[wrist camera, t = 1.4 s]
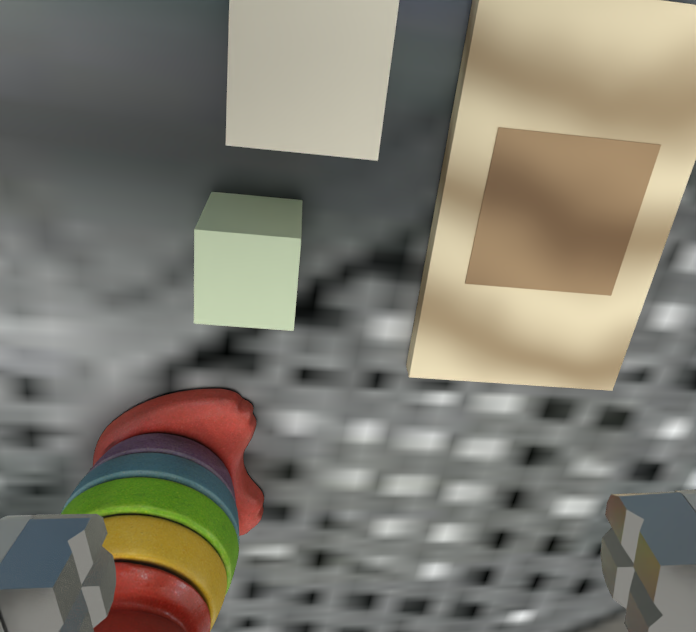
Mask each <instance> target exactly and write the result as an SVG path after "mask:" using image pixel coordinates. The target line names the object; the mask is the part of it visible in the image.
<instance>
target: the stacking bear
mask: <svg viewBox="0 0 696 632" xmlns="http://www.w3.org/2000/svg"><path fill="white" fill-rule="evenodd" d="M255 427H256V419H255V417H254V415H253V406H252V404H251V403H249V402H248V401H246V400H244V399H243V398H241V396H240V395H239V394H237V393H236V392H233V391H230V390H226V389H196V390H188V391H181V392H176V393H172V394H168V395H164V396H160V397H157V398H155V399H152V400H149V401H147V402H144V403H142V404H140V405H138V406H136V407H134V408H132V409H130V410H129V411H127V412H125V413H124V414H122V415H121V416H120V417H118V418H117V419H116V420H114V421H113V422H112V423H111V424H110V425H109V426H108V427H107V428H106V429H105V430H104V432H103V433H102V435H101V436H100V438H99V440H98V442H97V445H96V448H95V452H94V457H93V467H92V468H91V469H90V471H89V472H88V473H87V475H86V476H85V477H84V478H83V479H82V480H81V482H80V483H79V484H78V486H77V487H76V489H75V490H74V491H73V493H72V494H71V496H70V498H69V499H68V501H67V502H66V504H65V506H64V508H63V510H62V512H61V514H98V515H100V516H101V517H103V519H104V523H105V526H106V530H107V533H108V534H107V536H106V538H105V540H104V542H103V544H102V546H103V547H104V548H105V549H106V550H107V551H108V552H110V553H111V554H112V555H113V558H114V562H115V567H116V587H115V593H114V599H113V603H112V605H111V608H110V610H109V613H108V616H107V617H106V618H105V619H104V620H103V621H101V622H100V623H99V624H98V625H97V626H95V627H94V628H93V629H94V632H210V630H211V629H212V627H213V625H214V623H215V621H216V618H217V616H218V614H219V612H220V609H221V606H222V604H223V601H224V598H225V595H226V593H227V591H228V589H229V586H230V584H231V580H232V577H233V574H234V571H235V567H236V563H237V559H238V552H239V536H240V535H244V534H246V533H248V532H249V531H250V530H251V529H252V528H253V527H255V526H256V525H257V524H258V523H259V521H260V520H261V517H262V514H263V506H262V505H263V502H264V496H263V493H262V491H261V490H260V488H259V487H258V486H257V485H256V484H255V483H254V482H253V481H252V480H251V478H250V477H249V475H248V474H247V472H246V469H245V467H244V461H243V453H244V451H245V449H246V447H247V445H248V443H249V442H250V440H251V438H252V436H253V433H254V431H255Z"/></svg>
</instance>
